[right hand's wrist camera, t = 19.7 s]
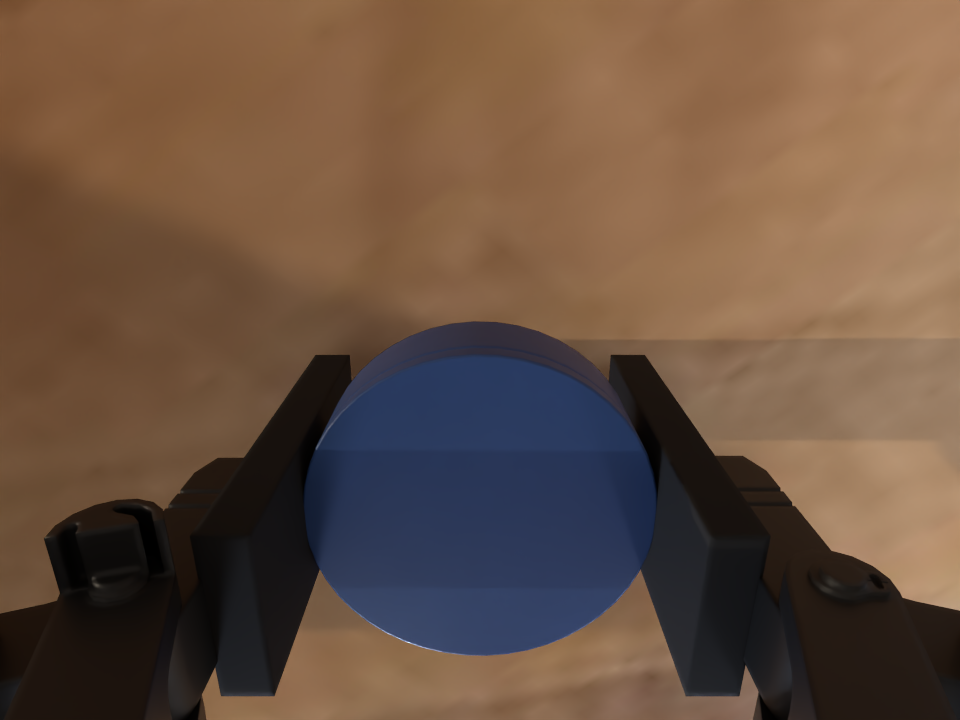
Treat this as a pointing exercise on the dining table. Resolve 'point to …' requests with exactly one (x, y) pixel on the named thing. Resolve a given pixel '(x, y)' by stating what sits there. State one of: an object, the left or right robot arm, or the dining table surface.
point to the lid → (480, 491)
